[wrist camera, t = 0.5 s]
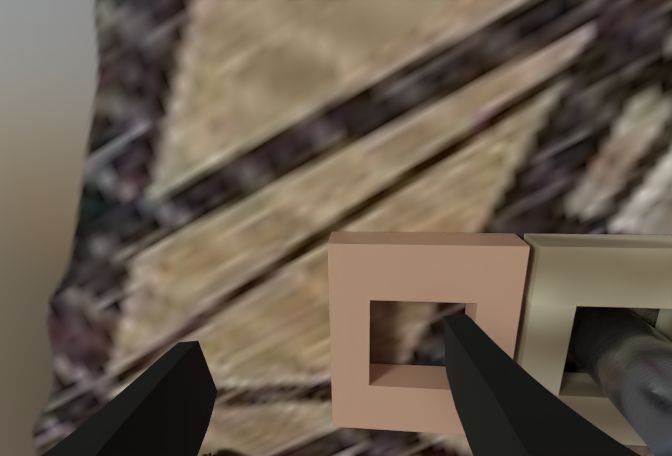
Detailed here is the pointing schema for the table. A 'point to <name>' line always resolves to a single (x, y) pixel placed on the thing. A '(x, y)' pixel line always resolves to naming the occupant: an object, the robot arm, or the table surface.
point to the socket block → (422, 286)
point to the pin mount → (588, 290)
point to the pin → (628, 369)
